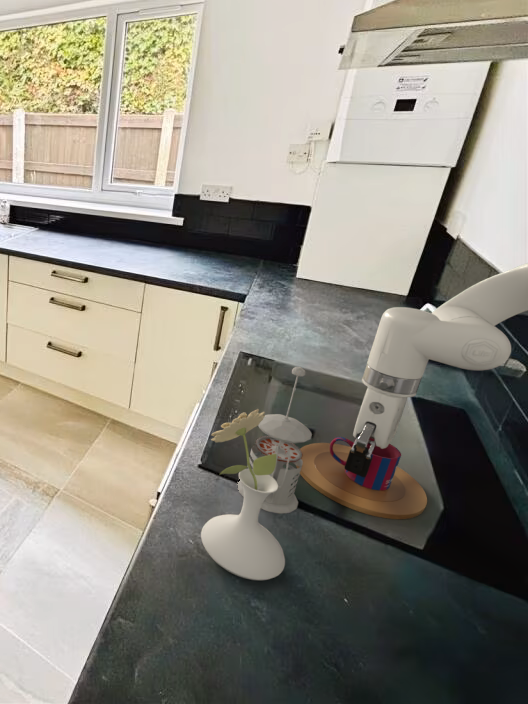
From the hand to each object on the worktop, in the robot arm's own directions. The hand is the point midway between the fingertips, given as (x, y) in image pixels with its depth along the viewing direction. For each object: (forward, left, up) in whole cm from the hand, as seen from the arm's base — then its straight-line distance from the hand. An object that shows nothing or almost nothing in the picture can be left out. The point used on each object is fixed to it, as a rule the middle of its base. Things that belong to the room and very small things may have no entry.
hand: (362, 461), depth 84 cm
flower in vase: (+7, +35, -4) cm, 36 cm away
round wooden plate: (0, 0, -4) cm, 4 cm away
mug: (0, 0, -3) cm, 3 cm away
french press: (+9, +18, -4) cm, 21 cm away
